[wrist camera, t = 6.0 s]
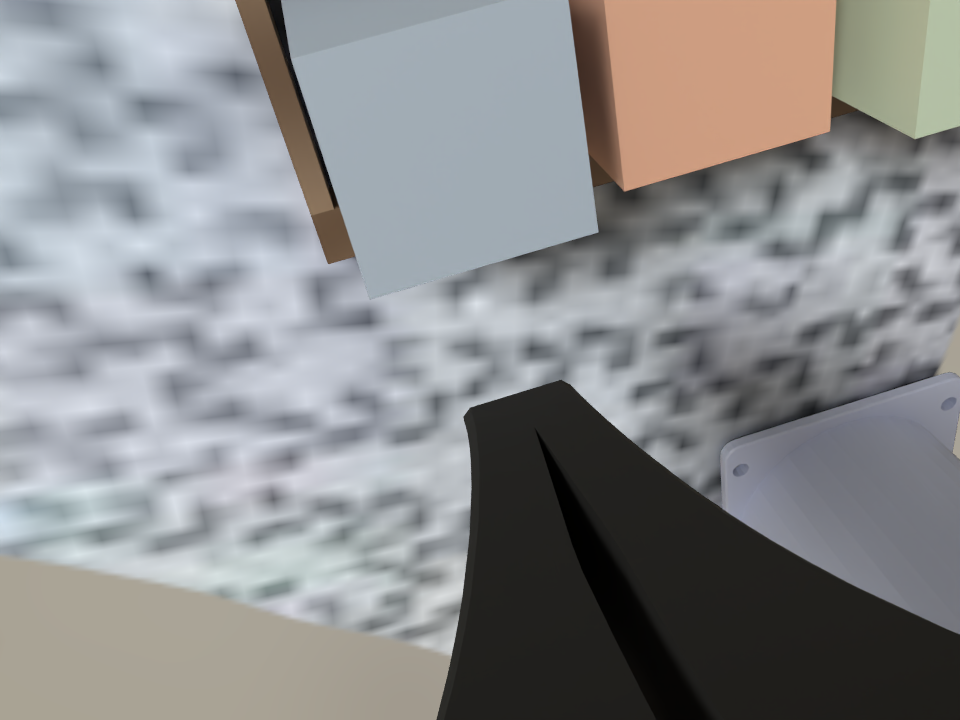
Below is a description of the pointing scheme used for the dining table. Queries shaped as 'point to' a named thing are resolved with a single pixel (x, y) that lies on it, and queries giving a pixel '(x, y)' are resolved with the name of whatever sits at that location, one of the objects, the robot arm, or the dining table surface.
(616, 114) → the salmon orange cube
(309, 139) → the walnut board
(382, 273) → the light grey cube
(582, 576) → the robot arm
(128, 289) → the dining table surface
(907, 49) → the sage button
